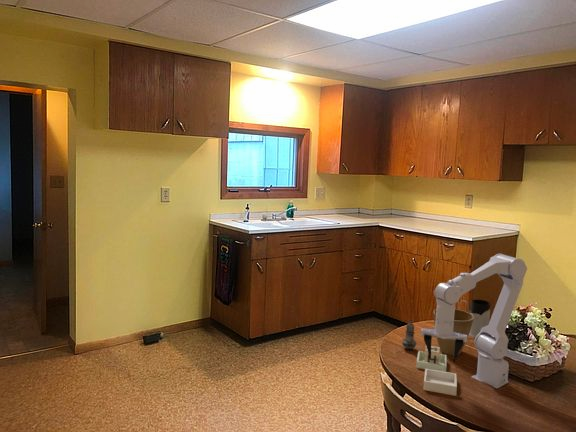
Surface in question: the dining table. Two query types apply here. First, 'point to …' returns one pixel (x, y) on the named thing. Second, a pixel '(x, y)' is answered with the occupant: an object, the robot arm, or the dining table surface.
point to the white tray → (440, 382)
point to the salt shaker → (409, 337)
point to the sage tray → (432, 366)
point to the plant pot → (456, 330)
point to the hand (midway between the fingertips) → (441, 359)
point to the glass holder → (478, 315)
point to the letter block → (432, 355)
